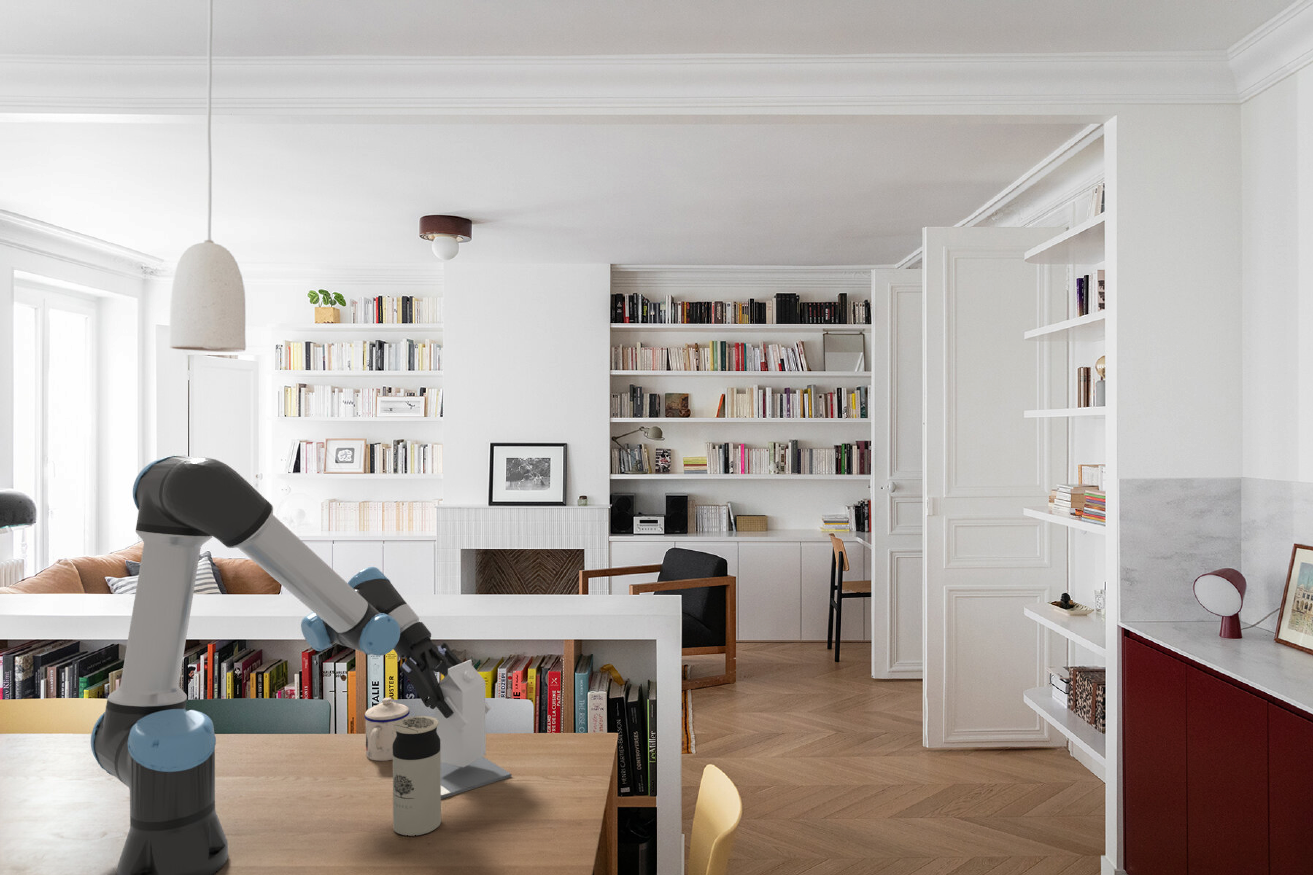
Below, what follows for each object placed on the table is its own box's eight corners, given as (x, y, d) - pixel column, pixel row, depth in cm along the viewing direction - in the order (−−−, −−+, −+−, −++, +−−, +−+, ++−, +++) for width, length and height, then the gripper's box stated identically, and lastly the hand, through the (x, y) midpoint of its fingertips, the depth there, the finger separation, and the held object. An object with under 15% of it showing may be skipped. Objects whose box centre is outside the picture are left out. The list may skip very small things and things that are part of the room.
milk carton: (434, 761, 168) (433, 666, 167) (457, 749, 174) (457, 657, 174) (463, 768, 165) (462, 671, 164) (486, 755, 171) (485, 661, 170)
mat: (511, 776, 168) (511, 772, 168) (436, 800, 157) (436, 796, 157) (467, 749, 181) (467, 746, 181) (395, 769, 171) (395, 766, 171)
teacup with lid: (376, 744, 184) (375, 690, 184) (416, 745, 183) (416, 692, 183) (350, 766, 172) (350, 709, 172) (393, 768, 171) (393, 711, 171)
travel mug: (422, 811, 153) (422, 712, 153) (450, 824, 148) (449, 722, 148) (383, 827, 147) (383, 724, 146) (411, 842, 142) (410, 735, 141)
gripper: (424, 632, 184) (490, 714, 179) (361, 657, 164) (433, 751, 159) (445, 609, 182) (512, 692, 177) (384, 632, 162) (458, 726, 157)
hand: (475, 720), depth 168 cm, fingers closed on milk carton, 8 cm apart
